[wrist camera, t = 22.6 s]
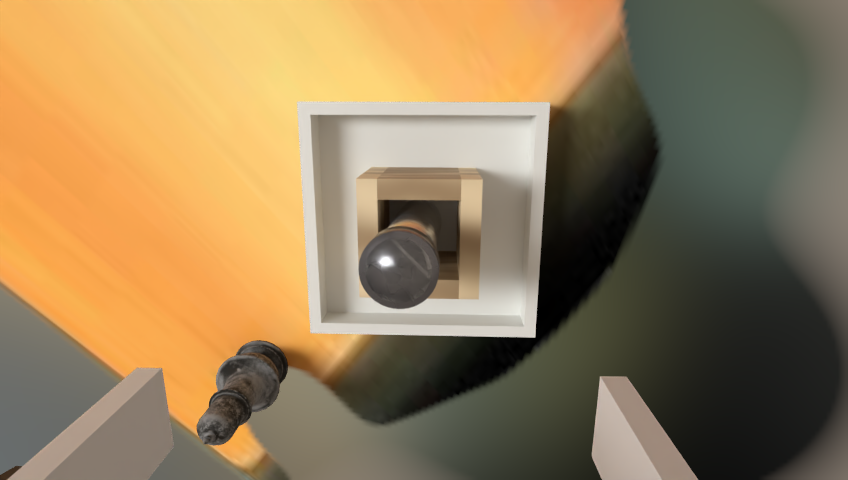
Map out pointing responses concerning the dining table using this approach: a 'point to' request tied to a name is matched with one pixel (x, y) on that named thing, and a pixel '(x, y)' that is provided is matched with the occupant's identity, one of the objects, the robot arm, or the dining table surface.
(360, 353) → the dining table surface
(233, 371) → the salt shaker
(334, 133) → the tray
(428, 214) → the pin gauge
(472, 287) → the wooden box
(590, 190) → the dining table surface
